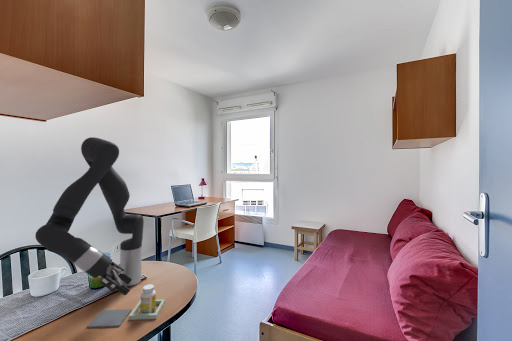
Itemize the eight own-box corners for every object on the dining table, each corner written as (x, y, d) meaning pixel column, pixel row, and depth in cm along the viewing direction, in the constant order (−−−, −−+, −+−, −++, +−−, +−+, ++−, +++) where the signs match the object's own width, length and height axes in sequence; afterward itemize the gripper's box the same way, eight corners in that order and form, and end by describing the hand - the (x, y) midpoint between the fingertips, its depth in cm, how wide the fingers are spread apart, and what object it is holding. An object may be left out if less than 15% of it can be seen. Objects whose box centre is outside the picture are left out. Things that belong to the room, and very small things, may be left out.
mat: (86, 327, 78) (86, 326, 78) (102, 311, 87) (102, 310, 87) (119, 326, 79) (119, 325, 79) (131, 310, 88) (131, 309, 88)
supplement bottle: (142, 317, 85) (143, 292, 84) (138, 310, 88) (139, 286, 88) (157, 311, 88) (157, 287, 88) (152, 305, 92) (153, 281, 92)
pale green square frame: (128, 319, 83) (128, 315, 83) (140, 303, 93) (140, 299, 93) (156, 318, 84) (156, 314, 84) (164, 302, 94) (164, 299, 94)
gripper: (98, 261, 75) (135, 287, 80) (106, 247, 88) (138, 271, 93) (78, 279, 73) (118, 306, 78) (89, 262, 86) (123, 286, 91)
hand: (129, 286), depth 85 cm, fingers open, 8 cm apart
